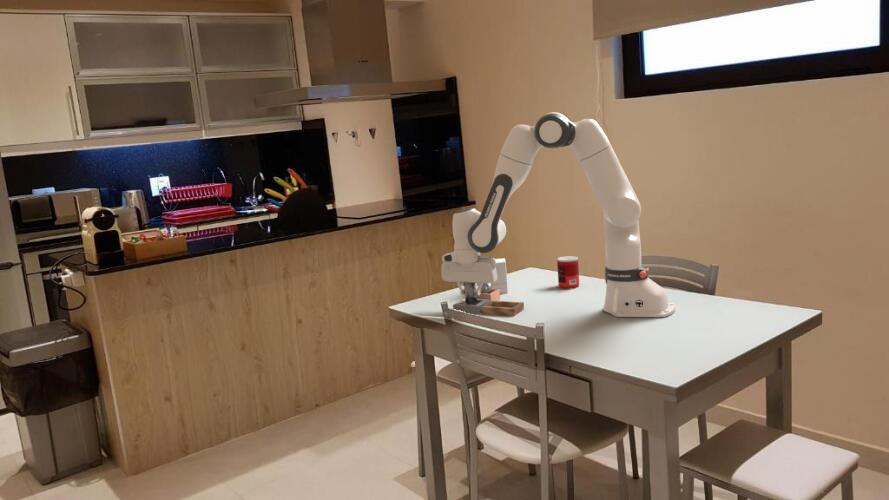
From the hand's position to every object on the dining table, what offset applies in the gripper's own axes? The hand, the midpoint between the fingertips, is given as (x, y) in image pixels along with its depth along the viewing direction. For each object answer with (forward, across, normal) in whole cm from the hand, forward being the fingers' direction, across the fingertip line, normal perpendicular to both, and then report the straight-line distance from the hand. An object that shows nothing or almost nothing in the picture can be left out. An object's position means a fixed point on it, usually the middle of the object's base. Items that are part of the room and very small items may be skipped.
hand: (470, 294), depth 237 cm
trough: (+6, -12, 0) cm, 13 cm away
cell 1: (+3, 0, 0) cm, 3 cm away
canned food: (+6, -22, -38) cm, 44 cm away
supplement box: (+6, +1, -24) cm, 24 cm away
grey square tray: (+6, 0, 0) cm, 6 cm away
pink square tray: (+6, -1, -10) cm, 11 cm away
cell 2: (+5, -1, -10) cm, 11 cm away
